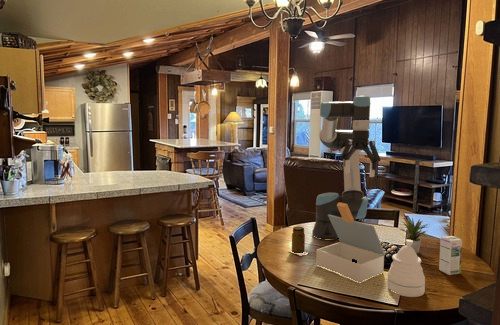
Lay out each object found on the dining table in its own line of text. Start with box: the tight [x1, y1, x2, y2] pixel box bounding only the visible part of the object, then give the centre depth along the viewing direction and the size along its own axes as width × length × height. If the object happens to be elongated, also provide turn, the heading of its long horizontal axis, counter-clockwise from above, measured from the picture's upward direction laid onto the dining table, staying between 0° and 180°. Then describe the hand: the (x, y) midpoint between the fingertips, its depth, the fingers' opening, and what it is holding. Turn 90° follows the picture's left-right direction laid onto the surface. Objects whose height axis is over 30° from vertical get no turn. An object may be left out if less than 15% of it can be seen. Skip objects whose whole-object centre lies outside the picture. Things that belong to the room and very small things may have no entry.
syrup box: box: [438, 235, 463, 276], centre depth 152 cm, size 6×6×14 cm
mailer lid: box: [328, 202, 386, 257], centre depth 154 cm, size 22×25×2 cm
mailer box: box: [315, 241, 385, 282], centre depth 155 cm, size 22×16×8 cm
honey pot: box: [386, 240, 426, 298], centre depth 137 cm, size 13×13×18 cm
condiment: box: [291, 226, 306, 253], centre depth 175 cm, size 7×8×12 cm
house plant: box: [399, 217, 429, 254], centre depth 175 cm, size 14×14×16 cm
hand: (359, 175), depth 174 cm, fingers open, 13 cm apart
